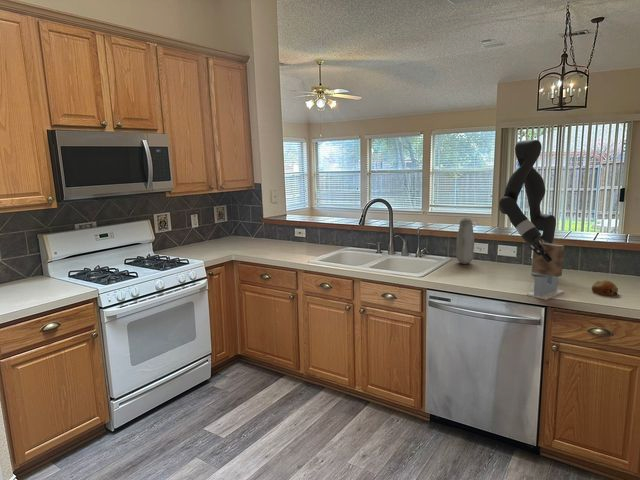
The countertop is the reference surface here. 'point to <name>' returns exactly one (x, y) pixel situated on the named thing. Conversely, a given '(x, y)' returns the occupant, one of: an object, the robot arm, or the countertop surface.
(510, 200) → the robot arm
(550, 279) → the notched stand
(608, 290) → the bread roll
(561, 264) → the walnut board
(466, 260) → the grey bottle
